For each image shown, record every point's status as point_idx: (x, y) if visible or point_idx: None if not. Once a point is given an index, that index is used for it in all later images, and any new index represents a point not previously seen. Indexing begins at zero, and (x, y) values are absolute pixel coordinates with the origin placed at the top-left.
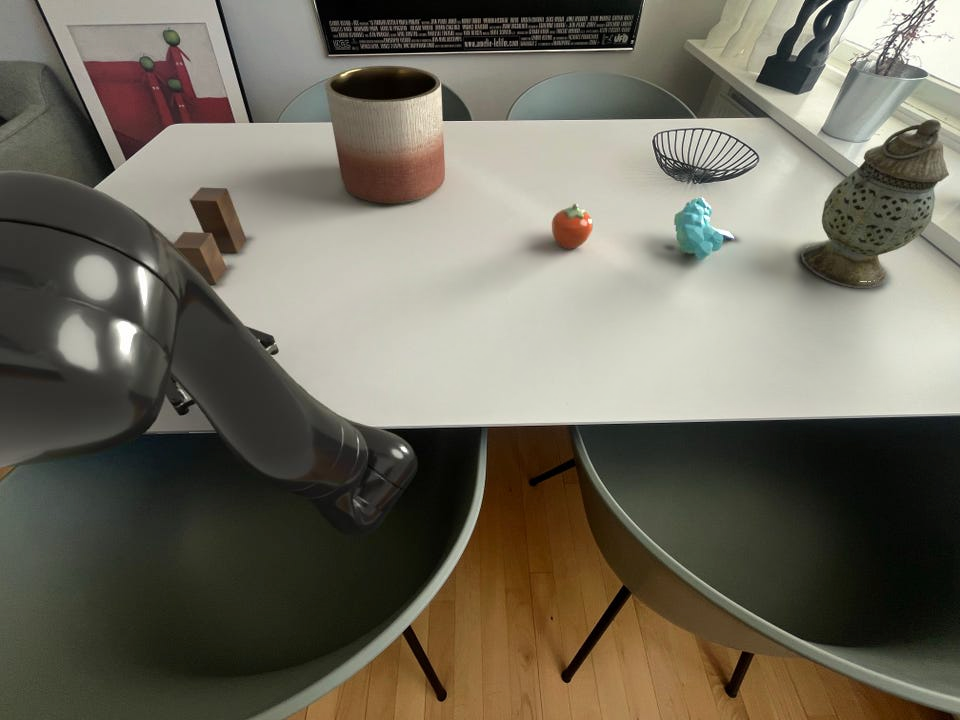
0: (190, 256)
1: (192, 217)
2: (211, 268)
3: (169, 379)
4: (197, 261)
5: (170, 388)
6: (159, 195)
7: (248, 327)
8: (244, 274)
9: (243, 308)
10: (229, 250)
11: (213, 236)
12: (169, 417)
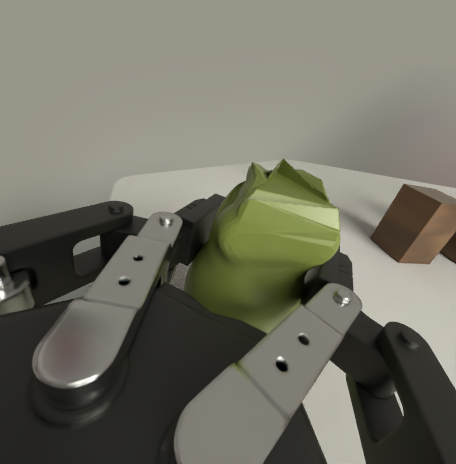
0: (413, 207)
1: None
2: (418, 241)
3: (79, 224)
4: (414, 219)
5: (18, 235)
6: None
7: (451, 386)
8: (449, 287)
9: (406, 315)
10: (452, 255)
11: None
12: None
